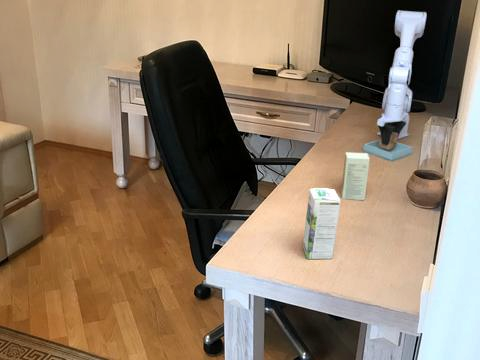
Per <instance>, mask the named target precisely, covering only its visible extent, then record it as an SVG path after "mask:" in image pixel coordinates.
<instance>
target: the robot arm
mask: <svg viewBox="0 0 480 360" xmlns="http://www.w3.org/2000/svg"><path fill="white" fill-rule="evenodd" d="M427 17H428V16H427V12H426V11H411V10H410V11H409V10H400V9H399V10H397V12H396V14H395V20H394V21H395V22H394V34H395V35H396V36H397V37H399V39H400V40H399V41H400V44H399V45H400V46H399V47H398V48H397V49H396V50H395V52H394V56H393V62H392V65H391V67H390V69H389V74H388V86H387V87H386V88H385V90H384V94H383V98H382V104H381V108H382V110H383V111H384V112H383V113H381V117H380V118H378V119H377V122H376V126H377V127H378V129H379V132H377V133H376V134H377V135H378V136H380V134H381V139H382V144H385V145H388V144H389V141H390V137H391V134H392V132H395V133H398V136H397V140H398V139H402V138H405V137H408V136H410V134H409V133H408V130H409V129H408V128H409V123H410V114H409V113H410V112H411V105H412V99H413V90H411V89H410V87H409V85H410V83H411V76H412V72H413V71H412V66H413V65H412V63H413V58H414V51H413V47H414V43H415V41H416V40H417V39H418V38H421V37H422V36H423V35H424V32H425V31H424V30H425V28H426V27H425V26H426V21H427ZM407 82H408V83H407Z"/></svg>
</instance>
